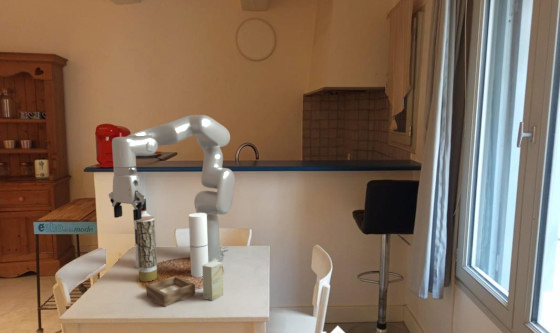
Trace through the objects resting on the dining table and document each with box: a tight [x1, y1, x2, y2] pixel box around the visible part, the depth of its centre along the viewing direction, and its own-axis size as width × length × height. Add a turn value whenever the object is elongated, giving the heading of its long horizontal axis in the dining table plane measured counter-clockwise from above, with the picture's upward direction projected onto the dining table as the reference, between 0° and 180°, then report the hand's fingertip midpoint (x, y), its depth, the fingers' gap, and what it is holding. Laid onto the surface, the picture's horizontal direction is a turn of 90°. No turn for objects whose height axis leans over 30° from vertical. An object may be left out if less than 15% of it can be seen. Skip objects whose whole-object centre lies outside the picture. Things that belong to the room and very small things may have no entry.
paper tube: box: [136, 215, 158, 283], centre depth 158 cm, size 7×7×25 cm
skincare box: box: [202, 261, 224, 301], centre depth 142 cm, size 6×4×12 cm
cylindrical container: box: [188, 212, 208, 278], centre depth 162 cm, size 7×7×25 cm
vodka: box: [133, 198, 158, 269], centre depth 173 cm, size 9×9×30 cm
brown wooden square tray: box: [145, 275, 196, 308], centre depth 144 cm, size 12×12×4 cm
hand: (127, 218), depth 144 cm, fingers open, 9 cm apart
